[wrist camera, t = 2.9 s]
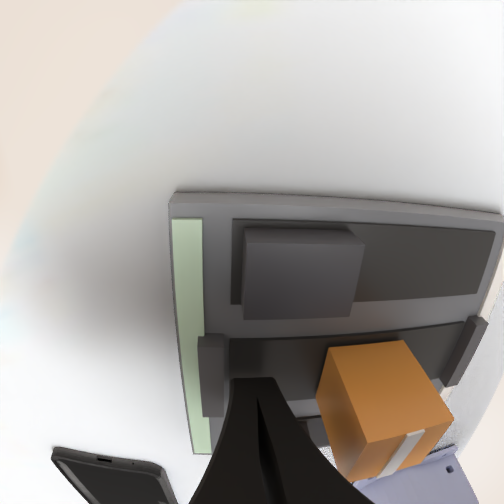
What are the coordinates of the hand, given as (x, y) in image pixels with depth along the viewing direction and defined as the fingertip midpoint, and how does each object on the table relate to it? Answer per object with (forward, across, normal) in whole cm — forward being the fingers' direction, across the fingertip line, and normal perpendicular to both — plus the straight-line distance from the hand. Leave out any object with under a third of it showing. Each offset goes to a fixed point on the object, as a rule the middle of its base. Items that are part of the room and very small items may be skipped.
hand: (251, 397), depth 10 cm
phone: (+3, +8, +17) cm, 19 cm away
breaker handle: (+1, -4, 0) cm, 4 cm away
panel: (+2, -4, 0) cm, 5 cm away
